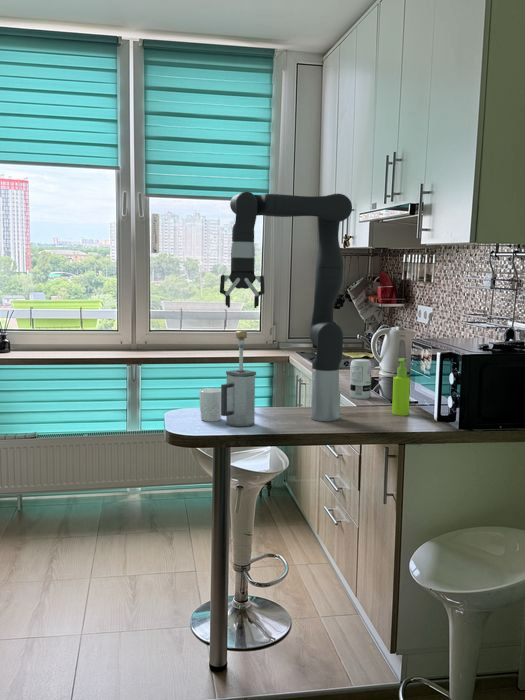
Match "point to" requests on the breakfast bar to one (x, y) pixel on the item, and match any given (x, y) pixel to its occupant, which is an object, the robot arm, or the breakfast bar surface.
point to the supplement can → (360, 379)
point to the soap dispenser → (401, 390)
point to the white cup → (210, 404)
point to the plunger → (241, 347)
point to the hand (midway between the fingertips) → (241, 307)
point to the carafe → (239, 399)
